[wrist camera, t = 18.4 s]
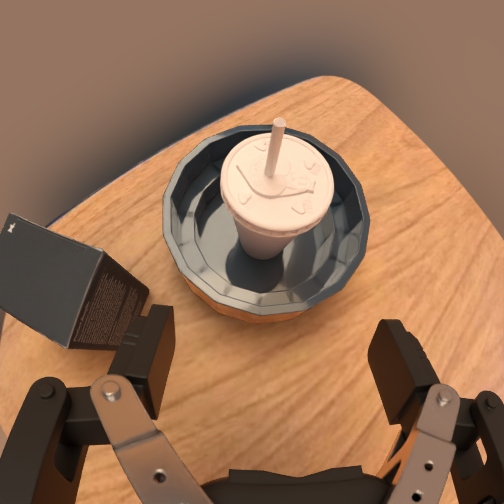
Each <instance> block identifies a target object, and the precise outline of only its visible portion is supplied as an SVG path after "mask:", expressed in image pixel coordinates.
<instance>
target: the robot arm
mask: <svg viewBox="0 0 504 504" xmlns="http://www.w3.org/2000/svg"><path fill="white" fill-rule="evenodd" d="M174 350H175V325H174V311H173V306H166V305H157V304H153V305H152V307H151V309H150V311H149V314H148V316H147V317H144V316H138V317H137V318H135V319H134V320H133V321H132V322H131V323H130V324H129V325H128V328H127V330H126V332H125V336H123V339H122V341H121V344H120V345H119V348H118V350H117V352H116V354H115V357H114V359H113V361H112V364H111V366H110V368H109V371H108V373H107V375H104V376H102V377H100V378H98V379H97V380H96V381H95V382H94V383H93V384H92V386H88V387H75V388H66V386H65V385H64V383H63V382H62V381H61V380H60V379H58V378H55V377H44V378H41V379H39V380H37V381H36V382H35V383H33V385H32V386H31V388H30V389H29V392H28V394H27V396H26V398H25V400H24V402H23V404H22V407H21V409H20V411H19V413H18V416H17V418H16V420H15V423H14V425H13V427H12V430H11V432H10V435H9V437H8V440H7V442H6V445H5V448H4V450H3V453H2V455H1V458H0V504H75V501H76V496H77V492H78V487H79V483H80V479H81V474H82V470H83V466H84V462H85V458H86V454H87V450H88V447H89V445H106V444H111V445H112V447H113V450H114V452H115V454H116V456H117V458H118V460H119V462H120V464H121V466H122V468H123V470H124V472H125V474H126V476H127V477H128V479H129V481H130V483H131V485H132V486H133V488H134V490H135V492H136V493H137V495H138V497H139V498H140V500H141V502H142V503H143V504H438V503H439V501H440V498H441V495H442V492H443V489H444V487H445V484H446V481H447V478H448V474H449V471H450V472H451V475H452V479H453V483H454V486H455V490H456V494H457V498H458V502H459V504H504V404H503V402H502V400H501V399H500V398H499V396H498V395H496V394H495V393H493V392H491V391H482V392H480V393H479V394H478V396H477V397H476V398H475V400H474V399H467V398H460V397H459V395H458V393H457V392H456V391H455V390H454V389H453V388H452V387H450V386H448V385H446V384H441V383H440V381H439V379H438V377H437V375H436V373H435V371H434V369H433V367H432V365H431V363H430V361H429V359H428V358H427V356H426V354H425V352H424V351H423V348H422V346H421V345H420V343H419V341H418V339H417V338H415V337H414V336H413V335H412V334H411V333H410V332H406V330H405V328H404V326H403V324H402V323H401V321H400V320H398V319H382V320H380V322H379V324H378V326H377V329H376V331H375V334H374V336H373V339H372V341H371V343H370V346H369V349H368V362H369V365H370V368H371V371H372V374H373V377H374V379H375V382H376V385H377V388H378V391H379V394H380V397H381V400H382V403H383V406H384V409H385V412H386V415H387V418H388V421H389V424H390V425H394V424H401V427H402V428H401V429H400V431H399V432H398V434H397V437H396V439H395V441H394V443H393V445H392V448H391V450H390V452H389V454H388V456H387V458H386V460H385V462H384V464H383V466H382V467H381V469H380V470H379V472H378V473H377V475H376V476H373V475H369V474H365V473H363V472H362V468H361V465H359V466H351V467H341V468H331V469H328V470H324V471H321V472H318V473H315V474H311V475H308V476H304V477H299V478H297V477H291V476H286V475H281V474H276V473H272V472H267V471H257V470H234V469H229V476H228V477H224V478H219V479H215V480H212V481H209V482H206V483H204V484H202V485H199V484H198V483H197V481H196V480H195V479H194V477H193V476H192V475H191V473H190V472H189V470H188V469H187V468H186V466H185V465H184V463H183V462H182V460H181V459H180V458H179V456H178V455H177V453H176V452H175V450H174V449H173V447H172V446H171V444H170V443H169V441H168V440H167V438H166V437H165V435H164V434H163V432H162V431H160V430H158V429H157V428H156V426H155V425H154V423H153V421H152V420H151V419H153V420H157V419H158V414H159V410H160V406H161V402H162V398H163V394H164V390H165V386H166V382H167V378H168V374H169V370H170V366H171V362H172V358H173V354H174ZM480 438H481V440H482V443H483V445H484V448H485V451H486V454H487V461H486V463H485V465H484V464H483V461H482V458H481V455H480V452H479V450H478V447H477V444H476V442H477V441H478V440H479V439H480Z"/></svg>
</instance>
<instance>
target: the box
mask: <svg viewBox="0 0 504 504" xmlns="http://www.w3.org/2000/svg"><path fill="white" fill-rule="evenodd" d="M148 292H149V289H148V288H147V287H146V286H145V285H144V284H142V283H141V282H140V281H138V280H137V279H136V278H135V277H133V276H132V275H131V274H130V273H129V272H128V271H126V270H125V269H124V268H123V267H122V266H121V265H119V264H118V263H117V262H116V261H115V260H113V259H112V258H111V257H110V256H109V255H108V254H107V253H106V252H104V250H103V249H100V248H96V247H93V246H90V245H87V244H84V243H81V242H79V241H76V240H74V239H71V238H69V237H66V236H64V235H61V234H58V233H56V232H54V231H51V230H49V229H47V228H44V227H42V226H39V225H37V224H35V223H33V222H31V221H28V220H26V219H24V218H22V217H20V216H18V215H16V214H14V213H10V214H9V215H8V217H7V220H6V222H5V225H4V227H3V229H2V231H1V234H0V308H1V309H3V310H4V311H6V312H7V313H9V314H10V315H12V316H13V317H15V318H16V319H18V320H19V321H20V322H22V323H24V324H25V325H27V326H29V327H30V328H32V329H33V330H35V331H37V332H39V333H40V334H42V335H43V336H45V337H47V338H48V339H50V340H52V341H54V342H55V343H57V344H59V345H60V346H62V347H64V348H66V349H87V350H108V351H109V350H110V351H117V350H118V348H119V345H120V344H121V341H122V339H123V336H125V332H126V330H127V328H128V325H129V324H130V323H131V322H132V321H133V320H134V319H135V318H137V317H138V316H140V313H141V311H142V308H143V305H144V303H145V300H146V298H147V295H148Z"/></svg>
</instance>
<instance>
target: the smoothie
mask: <svg viewBox="0 0 504 504" xmlns="http://www.w3.org/2000/svg"><path fill="white" fill-rule="evenodd" d="M285 127H286V121H285V120H284V119H282V118H276V119H274V122H273V127H272V132H271V133H265V134H259V135H255V136H252V137H250V138H247V139H245V140H243V141H242V142H240V143H239V144H237V145H236V146H235V147H234V148H233V149H232V150H231V151H230V153H229V154H228V155H227V157H226V159H225V161H224V163H223V166H222V170H221V180H220V187H221V196H222V199H223V201H224V204H225V206H226V208H227V210H228V211H229V212H230V213H231V215H232V216H233V218H234V222H235V225H236V229H237V232H238V236H239V239H240V243H241V246H242V248H243V249H244V251H245V252H246V253H247V254H248V255H250V256H251V257H253V258H256V259H260V260H266V259H270V258H273V257H275V256H276V255H278V254H279V253H280V252H281V251H282V250H283V249H284V248H285V247H286V246H287V245H288V244H289V243H290V242H291V241H292V240H293V239H294V238H295V237H296V236H297V235H299V234H301V233H304V232H307V231H308V230H310V229H311V228H313V227H314V226H315V225H317V224H318V223H319V222H320V221H321V219H322V218H323V217H324V215H325V214H326V213H327V210H328V207H329V205H330V203H331V200H332V197H333V193H334V180H333V175H332V172H331V169H330V167H329V165H328V163H327V161H326V160H325V159H324V157H323V156H322V155H321V154H320V153H319V152H318V151H317V150H316V149H315V148H314V147H313V146H311V145H310V144H308V143H307V142H305V141H303V140H301V139H299V138H297V137H294V136H291V135H287V134H284V131H285Z"/></svg>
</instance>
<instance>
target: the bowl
mask: <svg viewBox="0 0 504 504" xmlns="http://www.w3.org/2000/svg"><path fill="white" fill-rule="evenodd" d="M272 127H273V125H245V126H237V127H234V128H232V129H229V130H226V131H224V132H221V133H219V134H216V135H214V136H211V137H208V138H206V139H204V140H203V141H202V142H201V143H200V144H199V145H198V146H196V147H195V148H194V149H193V150H192V151H191V152H190V153H189V154H188V155H186V156H185V157H184V158H183V159H182V160H181V161H180V162H179V163H178V165H177V167H176V169H175V171H174V173H173V175H172V178H171V180H170V182H169V184H168V186H167V188H166V191H165V193H164V195H163V237H164V239H165V241H166V243H167V245H168V248H169V250H170V252H171V254H172V256H173V258H174V260H175V262H176V265H177V267H178V269H179V271H180V273H181V274H182V276H183V278H184V279H185V281H186V282H187V284H188V286H189V287H190V289H191V290H192V291H193V292H194V293H195V294H197V295H198V296H199V297H200V298H201V299H203V300H204V301H205V302H206V303H207V304H208V305H210V306H211V307H212V308H213V309H214V310H216V311H217V312H218V313H220V314H223V315H227V316H230V317H233V318H236V319H240V320H243V321H246V322H250V323H253V324H254V323H255V324H257V323H267V322H276V321H284V320H290V319H293V318H295V317H296V316H298V315H300V314H302V313H303V312H305V311H307V310H309V309H310V308H312V307H314V306H315V305H317V304H319V303H321V302H322V301H324V300H326V299H327V298H329V297H331V296H332V295H334V294H336V293H337V292H339V291H341V290H342V289H343V288H344V287H345V285H346V284H347V282H348V281H349V279H350V278H351V276H352V275H353V273H354V272H355V270H356V269H357V267H358V266H359V264H360V263H361V261H362V260H363V258H364V256H365V252H366V246H367V240H368V233H369V226H370V216H369V212H368V208H367V204H366V200H365V197H364V193H363V189H362V186H361V184H360V182H359V181H358V179H357V178H356V177H355V175H354V174H353V172H352V171H351V170H350V168H349V167H348V165H347V164H346V163H345V161H344V160H343V159H342V157H341V156H340V155H339V154H337V153H336V152H335V151H333V150H332V149H330V148H329V147H327V146H326V145H325V144H323V143H322V142H320V141H319V140H317V139H316V138H314V137H313V136H311V135H309V134H306V133H303V132H299V131H296V130H293V129H289V128H286V127H285V131H284V134H287V135H291V136H294V137H297V138H299V139H301V140H303V141H305V142H307V143H308V144H310V145H311V146H313V147H314V148H315V149H316V150H317V151H318V152H319V153H320V154H321V155H322V156H323V157H324V159H325V160H326V161H327V163H328V165H329V167H330V169H331V172H332V175H333V180H334V193H333V197H332V200H331V203H330V205H329V207H328V210H327V213H326V214H325V215H324V217H323V218H322V219H321V221H320V222H319V223H318V224H317V225H315V226H314V227H313V228H311V229H310V230H308V231H307V232H304V233H301V234H299V235H297V236H296V237H295V238H294V239H293V240H292V241H291V242H290V243H289V244H288V245H287V246H286V247H285V248H284V249H283V250H282V251H281V252H280V253H279V254H278V255H276V256H275V257H273V258H270V259H266V260H260V259H256V258H253V257H251V256H250V255H248V254H247V253H246V252H245V251H244V249H243V248H242V246H241V243H240V239H239V236H238V232H237V229H236V225H235V222H234V218H233V216H232V215H231V213H230V212H229V211H228V210H227V208H226V206H225V204H224V201H223V199H222V196H221V187H220V180H221V170H222V166H223V163H224V161H225V159H226V157H227V155H228V154H229V153H230V151H231V150H232V149H233V148H234V147H235V146H236V145H237V144H239V143H240V142H242V141H243V140H245V139H247V138H250V137H252V136H255V135H259V134H265V133H271V132H272Z"/></svg>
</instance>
